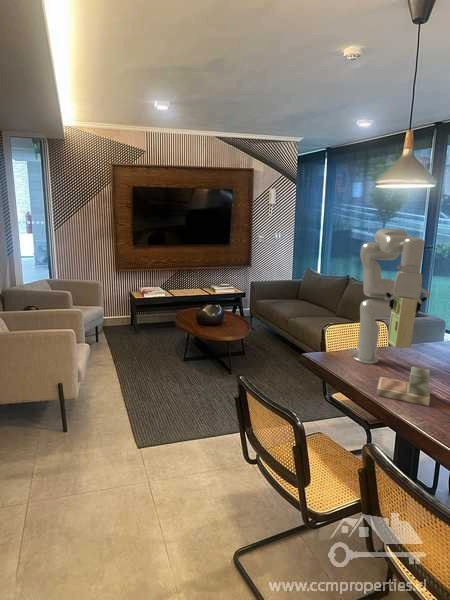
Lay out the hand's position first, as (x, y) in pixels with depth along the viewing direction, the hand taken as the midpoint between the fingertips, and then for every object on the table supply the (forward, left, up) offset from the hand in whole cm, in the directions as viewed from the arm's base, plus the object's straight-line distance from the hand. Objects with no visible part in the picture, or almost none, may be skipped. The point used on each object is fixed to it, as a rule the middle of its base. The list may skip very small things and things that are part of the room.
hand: (404, 310), depth 174 cm
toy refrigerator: (-1, +1, -15) cm, 15 cm away
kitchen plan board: (+4, 0, -36) cm, 36 cm away
